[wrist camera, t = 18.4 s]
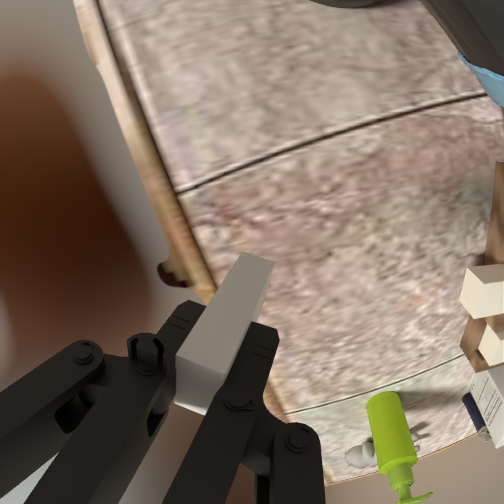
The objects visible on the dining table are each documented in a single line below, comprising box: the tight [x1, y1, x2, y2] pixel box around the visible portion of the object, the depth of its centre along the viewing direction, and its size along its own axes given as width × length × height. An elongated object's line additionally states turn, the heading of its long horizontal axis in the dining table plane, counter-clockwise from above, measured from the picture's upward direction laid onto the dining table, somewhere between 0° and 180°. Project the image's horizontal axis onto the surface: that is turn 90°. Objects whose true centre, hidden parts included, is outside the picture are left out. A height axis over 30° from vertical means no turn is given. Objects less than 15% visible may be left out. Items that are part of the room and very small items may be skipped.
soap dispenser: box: [366, 392, 433, 504], centre depth 36 cm, size 6×7×20 cm
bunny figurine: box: [345, 433, 420, 469], centre depth 48 cm, size 10×5×15 cm
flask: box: [462, 392, 492, 443], centre depth 40 cm, size 9×3×11 cm, turn 55°
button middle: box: [459, 264, 504, 319], centre depth 28 cm, size 4×9×4 cm, turn 95°
